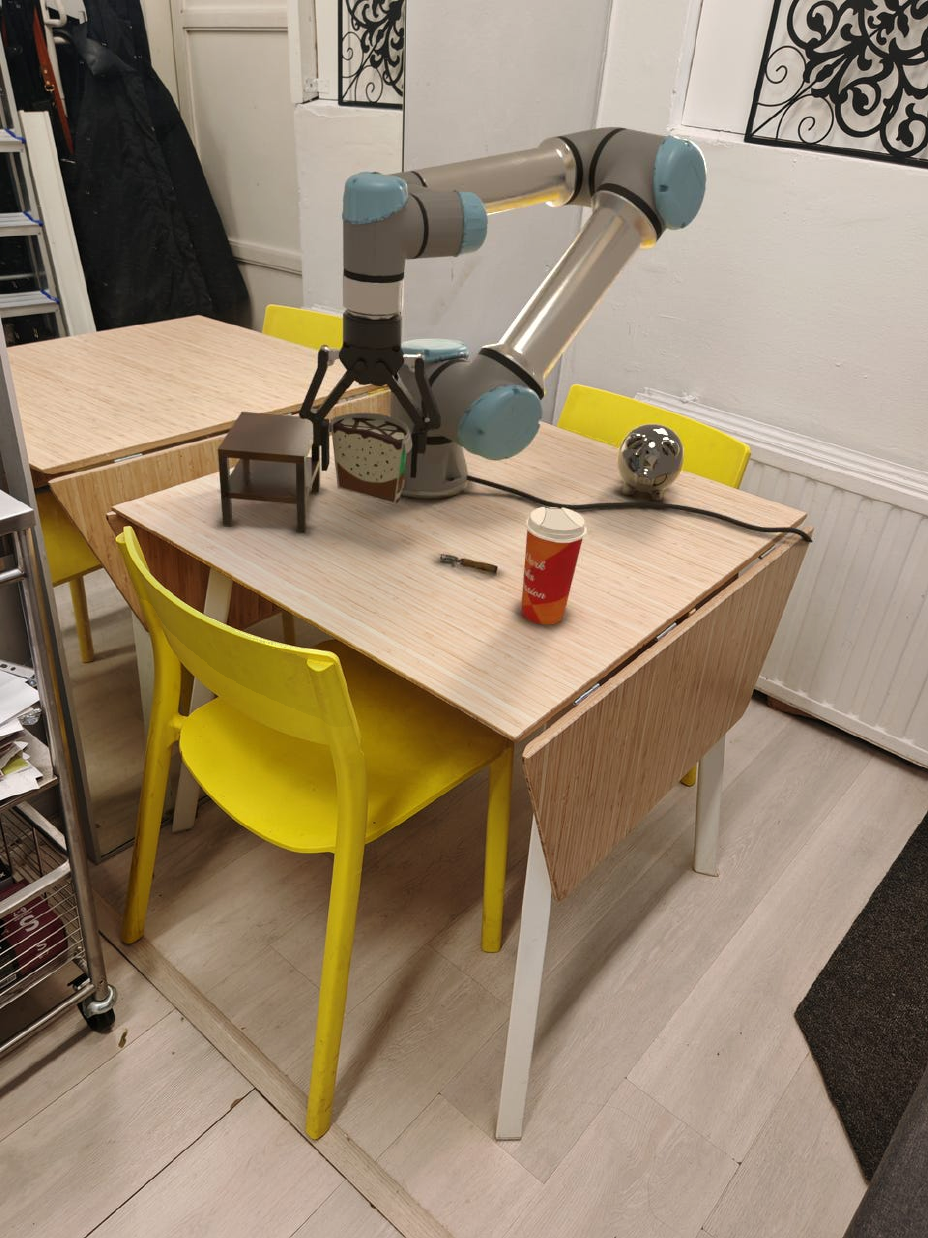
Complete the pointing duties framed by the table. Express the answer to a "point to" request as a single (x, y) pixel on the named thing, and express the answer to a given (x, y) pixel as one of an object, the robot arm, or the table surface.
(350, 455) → the food container
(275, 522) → the table surface
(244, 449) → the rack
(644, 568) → the table surface
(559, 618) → the paper cup
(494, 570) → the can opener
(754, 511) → the table surface
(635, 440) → the piggy bank
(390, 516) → the table surface
